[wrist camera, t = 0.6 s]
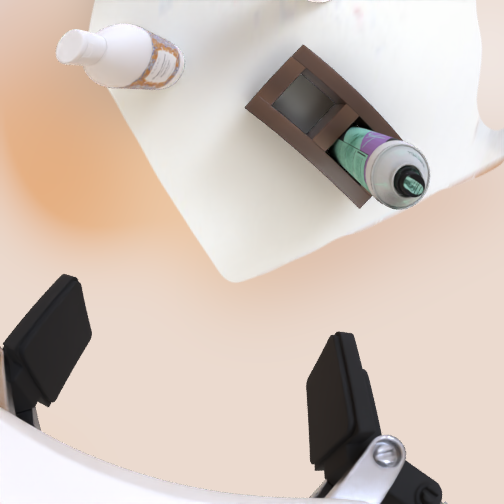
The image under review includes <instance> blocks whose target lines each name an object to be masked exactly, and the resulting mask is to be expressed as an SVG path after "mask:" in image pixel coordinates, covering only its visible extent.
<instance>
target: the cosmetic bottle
mask: <svg viewBox="0 0 504 504" xmlns="http://www.w3.org/2000/svg"><path fill="white" fill-rule="evenodd" d="M308 1H311V2H317V3H321V2H327V1H330V0H308Z"/></svg>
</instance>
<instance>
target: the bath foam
mask: <svg viewBox="0 0 504 504" xmlns="http://www.w3.org/2000/svg"><path fill="white" fill-rule="evenodd" d="M56 58H57V60H58V61H59V62H60V63H62V64H66V65H67V64H68V65H82V66H83V68H84V70H85V72H86V74H87V75H88V76H89V78H91V80H93V81H94V82H96V83H97V84H99V85H102V86H105V87H109V88H129V89H149V90H160V89H164V88H167V87H169V86H171V85H173V84H174V83H175V82H176V81H177V80H178V79H179V78H180V76H181V75H182V73H183V70H184V66H185V59H184V55H183V53H182V51H181V50H180V49H179V48H178V47H177V46H176V45H174V44H172V43H170V42H169V41H167V40H165V39H163V38H161V37H159V36H157V35H155V34H153V33H151V32H149V31H147V30H145V29H143V28H141V27H139V26H136V25H131V24H115V25H111V26H108V27H106V28H103V29H102V30H100V31H98V32H97V33H91V32H87V31H83V30H78V29H74V30H71V31H68V32H67V33H66V34H65V35H63V36H62V38H61V39H60V40H59V42H58V44H57V48H56Z"/></svg>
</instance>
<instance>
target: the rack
mask: <svg viewBox="0 0 504 504" xmlns="http://www.w3.org/2000/svg"><path fill="white" fill-rule="evenodd" d="M300 74H302V75H303V76H304V77H305V78H306V79H308V80H309V81H310V82H311V83H312V84H314V85H315V86H316V87H317V88H318V89H319V90H321V91H322V92H323V93H324V94H325V95H326V96H327V97H328V98H330V99H331V100H332V101H333V102H334V103H335V104H334V105H333V107H332V108H331V109H330V110H329V111H328V112H327V113H326V114H325V115H324V116H323V117H322V118H321V119H320V120H319V121H318V122H317V123H316V124H315V126H314V127H313V128H312V129H311V130H310V131H309V132H308V133H307V134H305V133H304V132H302V131H301V130H300V129H299V128H298V127H297V126H295V125H294V124H293V123H292V122H291V121H289V120H288V119H287V118H286V117H285V116H283V115H282V114H281V113H280V112H279V111H277V110H276V109H275V108H274V107H272V106H271V105H272V104H273V103H274V102H275V101H276V100H277V99H278V98H279V96H280V95H281V94H282V93H283V92H284V91H285V90H286V89H287V88H288V87H289V86H290V85H291V84H292V82H293V81H294V80H295V79H296V78H297V77H298V76H299V75H300ZM245 109H247V110H248V111H249V112H251V113H252V114H253V115H255V116H256V117H257V118H258V119H260V120H261V121H262V122H263V123H265V124H266V125H267V126H268V127H270V128H271V129H272V130H273V131H275V132H276V133H277V134H278V135H279V136H281V137H282V138H283V139H284V140H285V141H287V142H288V143H289V144H290V145H291V146H293V147H294V148H295V149H296V150H297V151H298V152H300V153H301V154H302V155H303V156H304V157H305V158H306V159H307V160H309V161H310V162H311V163H312V164H313V165H314V166H315V167H316V168H317V169H319V170H320V171H321V172H322V173H323V174H324V175H325V176H326V177H327V178H328V179H329V180H330V181H332V182H333V183H334V184H335V185H336V186H337V187H338V188H339V189H340V190H341V191H342V192H343V193H344V194H345V195H346V196H347V197H348V198H349V199H350V200H351V201H352V202H353V203H354V204H355V205H356V206H357V207H358V208H359V209H360V208H361V207H362V206H363V205H364V204H365V203H366V202H367V201H368V200H369V199H370V198H371V197H372V196H373V195H372V194H371V193H370V192H369V191H368V190H367V189H366V188H364V187H363V186H362V185H361V184H360V183H359V182H358V181H357V180H356V179H355V178H354V177H353V176H352V175H351V174H350V173H349V174H348V173H347V172H346V171H345V170H344V169H343V168H342V167H341V166H339V165H338V164H337V163H336V162H335V161H334V160H333V159H332V158H331V157H330V156H329V155H328V154H327V153H326V151H327V150H328V148H329V147H330V146H331V145H332V144H333V143H334V142H335V141H336V140H337V139H338V138H339V137H340V136H341V135H342V134H343V133H344V132H345V131H346V130H347V128H348V127H349V126H350V125H351V124H352V123H353V122H355V123H356V124H357V125H358V126H359V127H360V128H364V129H367V130H370V131H374V132H377V133H380V134H383V135H386V136H389V137H392V138H395V139H398V140H401V141H403V140H402V139H401V138H400V137H399V135H398V134H397V133H396V132H395V131H394V130H393V128H392V127H391V126H390V125H389V124H388V123H387V122H386V121H385V120H384V118H383V117H382V116H381V115H380V114H379V113H378V112H377V111H376V110H375V109H374V108H373V107H372V106H371V105H370V104H369V103H368V102H367V101H366V100H365V99H364V98H363V97H362V96H361V95H360V94H359V93H358V92H357V91H356V90H355V89H354V88H353V87H352V86H351V85H350V84H349V83H348V82H347V81H346V80H345V79H344V78H342V77H341V76H340V75H339V74H338V73H337V72H336V71H335V70H334V69H332V68H331V67H330V66H329V65H328V64H327V63H325V62H324V61H323V60H322V59H321V58H319V57H318V56H317V55H316V54H315V53H313V52H312V51H311V50H310V49H308V48H307V47H306V46H304V45H302V46H301V47H300V48H299V49H298V50H297V51H296V52H295V53H294V54H293V55H292V57H290V58H289V59H288V60H287V61H286V62H285V63H284V65H283V66H282V67H281V68H280V69H279V70H278V71H277V72H276V73H275V74H274V75H273V76H272V77H271V78H270V79H269V81H268V82H267V83H266V84H265V85H264V86H263V87H262V88H261V89H260V91H259V92H258V93H257V94H256V95H255V96H254V97H253V98H252V100H251V101H250V102H249V103H248V104H247V105H246V107H245Z"/></svg>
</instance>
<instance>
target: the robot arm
mask: <svg viewBox="0 0 504 504" xmlns="http://www.w3.org/2000/svg"><path fill="white" fill-rule="evenodd" d="M91 336H92V331H91V328H90V323H89V319H88V315H87V311H86V306H85V302H84V297H83V292H82V287H81V284H80V283H79V282H78V279H77V278H76V277H73V276H70V275H66V274H63V275H61V276H60V277H59V278H58V279H57V280H56V282H55V283H54V284H53V285H52V286H51V287H50V288H49V289H48V290H47V291H46V292H45V294H44V295H43V296H42V297H41V298H40V299H39V300H38V302H37V303H36V304H35V305H34V306H33V307H32V308H31V309H30V311H29V312H28V313H27V314H26V315H25V317H24V318H23V319H22V320H21V321H20V323H19V324H18V325H17V326H16V328H15V329H14V330H13V331H12V333H11V334H10V335H9V336H8V338H7V339H6V340H5V342H4V343H3V345H4V347H3V349H2V348H1V347H0V504H447V503H446V502H444V503H442V502H441V500H442V490H441V488H440V486H439V484H438V483H437V482H435V481H434V480H433V479H431V478H430V477H428V476H427V475H426V474H424V473H422V472H421V471H419V470H418V469H417V468H415V467H414V466H413V465H411V464H410V463H408V462H407V461H406V460H405V459H406V451H405V447H404V445H403V444H402V442H401V441H400V440H398V439H397V438H396V437H393V436H391V435H381V429H380V425H379V420H378V416H377V411H376V406H375V402H374V398H373V394H372V389H371V385H370V381H369V377H368V374H367V372H366V371H365V370H364V369H362V365H361V361H360V357H359V353H358V349H357V345H356V342H355V338H354V335H353V334H352V333H345V332H336V333H335V335H331V336H330V337H329V339H328V341H327V344H326V345H325V347H324V349H323V351H322V353H321V355H320V357H319V359H318V361H317V363H316V364H315V366H314V368H313V370H312V372H311V374H310V376H309V377H308V380H307V385H306V390H307V406H308V423H309V443H310V462H311V464H315V471H320V470H321V471H322V470H324V474H325V481H324V482H323V483H322V484H321V485H320V486H319V488H317V490H316V491H315V492H314V493H313V494H312V495H311V496H310V497H309V498H283V497H282V498H281V497H265V496H252V495H242V494H233V493H226V492H219V491H213V490H207V489H201V488H196V487H191V486H186V485H182V484H177V483H173V482H169V481H165V480H161V479H158V478H154V477H150V476H147V475H144V474H140V473H137V472H134V471H131V470H128V469H125V468H122V467H119V466H117V465H114V464H111V463H109V462H106V461H103V460H101V459H98V458H96V457H93V456H91V455H89V454H86V453H84V452H82V451H80V450H77V449H75V448H73V447H71V446H69V445H67V444H65V443H63V442H61V441H59V440H57V439H55V438H53V437H51V436H49V435H47V434H45V433H44V432H42V431H41V429H40V425H39V421H38V416H37V412H36V407H35V406H36V404H37V402H39V403H42V404H43V405H45V406H47V407H49V406H50V404H51V402H55V400H56V399H57V397H58V395H59V393H60V391H61V390H62V388H63V386H64V384H65V382H66V381H67V379H68V377H69V375H70V373H71V372H72V370H73V368H74V366H75V365H76V363H77V361H78V360H79V358H80V356H81V354H82V353H83V351H84V350H85V347H86V346H87V345H88V343H89V341H90V339H91Z"/></svg>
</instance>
